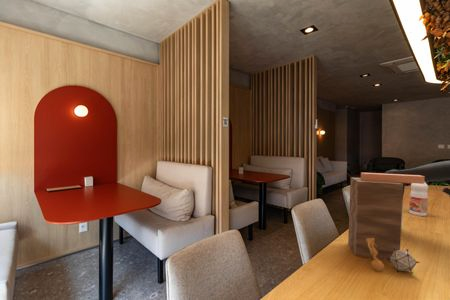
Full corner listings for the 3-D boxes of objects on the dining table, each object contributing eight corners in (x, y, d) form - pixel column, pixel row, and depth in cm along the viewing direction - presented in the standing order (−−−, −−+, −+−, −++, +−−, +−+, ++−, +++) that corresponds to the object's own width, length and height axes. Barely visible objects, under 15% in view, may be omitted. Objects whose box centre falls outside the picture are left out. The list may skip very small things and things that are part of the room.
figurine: (381, 277, 81) (383, 244, 80) (362, 270, 85) (363, 239, 84) (385, 268, 87) (387, 237, 86) (367, 262, 91) (368, 233, 91)
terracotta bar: (360, 179, 101) (360, 172, 101) (419, 182, 95) (420, 175, 95) (362, 180, 98) (363, 173, 98) (424, 183, 91) (424, 176, 91)
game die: (395, 279, 86) (377, 254, 89) (408, 267, 89) (390, 243, 92) (417, 280, 78) (396, 252, 81) (430, 267, 81) (409, 241, 84)
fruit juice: (429, 217, 148) (431, 175, 147) (411, 214, 152) (413, 174, 151) (424, 213, 156) (426, 173, 155) (407, 211, 161) (409, 172, 160)
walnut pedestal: (348, 243, 107) (350, 177, 106) (386, 248, 103) (389, 179, 102) (355, 256, 96) (358, 181, 94) (399, 261, 91) (403, 184, 90)
